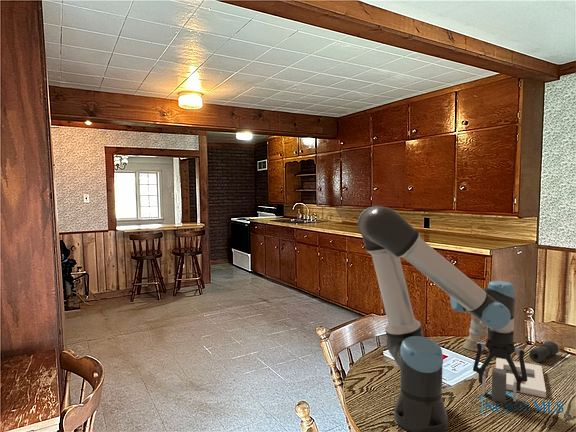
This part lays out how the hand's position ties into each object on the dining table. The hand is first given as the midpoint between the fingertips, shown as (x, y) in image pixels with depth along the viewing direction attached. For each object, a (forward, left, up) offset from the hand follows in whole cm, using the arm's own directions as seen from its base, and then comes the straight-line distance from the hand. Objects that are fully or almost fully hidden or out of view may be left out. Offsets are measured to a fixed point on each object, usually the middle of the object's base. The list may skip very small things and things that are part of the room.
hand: (498, 396), depth 128 cm
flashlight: (+44, -15, -1) cm, 47 cm away
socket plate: (+18, -6, 0) cm, 19 cm away
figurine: (+40, +10, -1) cm, 41 cm away
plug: (0, 0, 0) cm, 0 cm away
